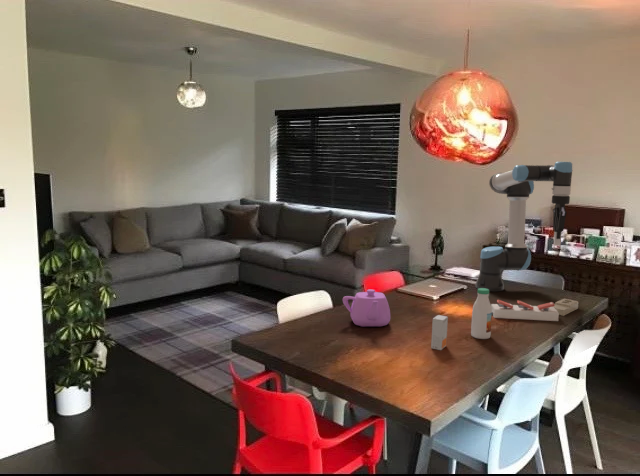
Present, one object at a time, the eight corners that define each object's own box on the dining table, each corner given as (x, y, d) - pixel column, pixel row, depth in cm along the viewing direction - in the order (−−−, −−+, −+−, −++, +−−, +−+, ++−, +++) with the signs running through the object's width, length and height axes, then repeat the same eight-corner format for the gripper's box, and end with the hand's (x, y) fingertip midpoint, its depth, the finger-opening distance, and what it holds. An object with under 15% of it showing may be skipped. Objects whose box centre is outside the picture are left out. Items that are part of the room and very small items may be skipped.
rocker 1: (496, 301, 246) (497, 299, 246) (510, 306, 246) (511, 304, 246) (498, 303, 243) (499, 301, 243) (512, 308, 242) (513, 306, 242)
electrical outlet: (548, 304, 252) (563, 298, 264) (548, 313, 252) (563, 306, 265) (564, 308, 247) (578, 301, 259) (563, 316, 247) (578, 309, 260)
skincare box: (441, 350, 201) (443, 320, 199) (430, 348, 203) (432, 318, 201) (446, 346, 206) (448, 316, 204) (436, 343, 208) (437, 314, 206)
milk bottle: (480, 340, 212) (483, 292, 209) (466, 334, 219) (469, 288, 216) (494, 337, 216) (497, 290, 213) (480, 332, 223) (483, 286, 220)
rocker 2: (517, 301, 245) (518, 299, 245) (530, 307, 244) (532, 305, 244) (518, 303, 242) (519, 301, 242) (532, 309, 241) (533, 307, 241)
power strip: (475, 311, 253) (476, 300, 252) (552, 315, 248) (553, 304, 247) (478, 316, 244) (479, 306, 243) (558, 321, 239) (559, 310, 238)
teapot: (340, 317, 241) (341, 285, 239) (386, 317, 242) (387, 285, 239) (344, 334, 219) (345, 298, 216) (395, 334, 219) (396, 298, 217)
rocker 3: (537, 307, 244) (537, 305, 244) (552, 304, 243) (552, 301, 243) (539, 309, 241) (538, 307, 241) (554, 306, 239) (554, 303, 239)
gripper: (548, 194, 251) (544, 242, 255) (556, 196, 239) (552, 247, 242) (565, 194, 250) (561, 243, 254) (574, 196, 237) (569, 248, 241)
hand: (556, 245), depth 248 cm, fingers closed
